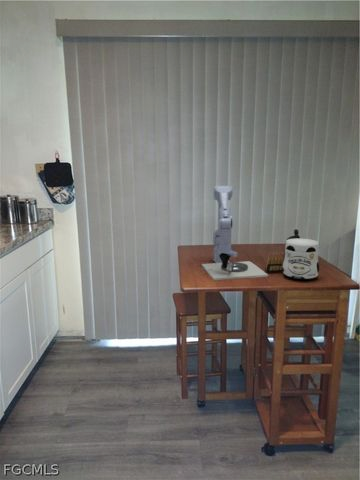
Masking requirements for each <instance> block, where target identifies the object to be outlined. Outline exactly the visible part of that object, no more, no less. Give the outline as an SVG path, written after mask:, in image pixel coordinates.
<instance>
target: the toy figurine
mask: <svg viewBox="0 0 360 480" xmlns="http://www.w3.org/2000/svg"><path fill="white" fill-rule="evenodd" d="M293 234H294V235H291V236H289V237H288V238H286V240H288V239H295V238H301V237H300V235H299V229H297V228H295V229H294V230H293ZM284 245H286V241H285V243H284Z"/></svg>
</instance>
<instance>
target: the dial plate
mask: <svg viewBox="0 0 360 480" xmlns="http://www.w3.org/2000/svg"><path fill="white" fill-rule="evenodd" d="M238 262H239V263H244V264H246V265H248V270H246V271H243V272H228V271H224V270H222V269H221V265H222V263H216V262H213V263H201V266H202V268H203V269H204V271H205V272H206V273H207V274H208V275H209V277H210V278H211V279H212V281H219V280H222V281H223V280H225V281H226V280H236V279H254V278H267V277H269V274H268V273H266V272H265V270H263V269H261V267H258V265H256V264H254V263H253V262H252V261H251V260H250V261H247V260H245V261H238Z"/></svg>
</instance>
